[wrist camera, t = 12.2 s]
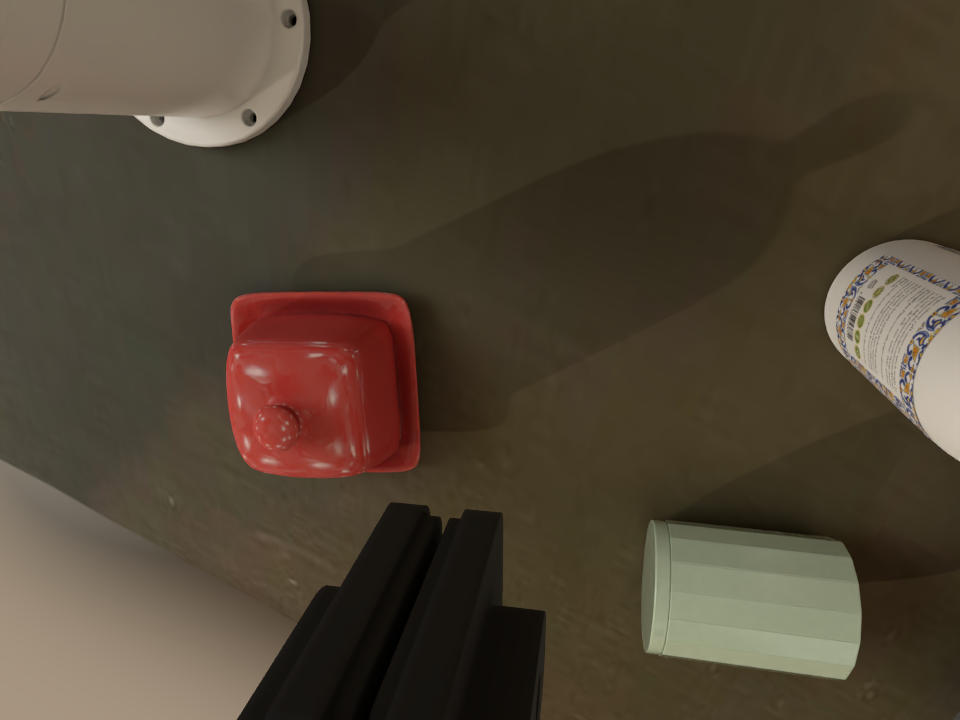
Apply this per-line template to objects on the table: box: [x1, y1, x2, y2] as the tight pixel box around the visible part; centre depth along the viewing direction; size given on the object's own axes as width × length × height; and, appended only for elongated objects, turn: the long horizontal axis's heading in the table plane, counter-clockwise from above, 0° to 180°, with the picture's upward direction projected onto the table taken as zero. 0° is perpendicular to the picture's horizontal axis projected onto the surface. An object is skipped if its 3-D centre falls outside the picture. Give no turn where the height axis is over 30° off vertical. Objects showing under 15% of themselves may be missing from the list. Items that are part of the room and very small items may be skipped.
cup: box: [641, 519, 862, 680], centre depth 38 cm, size 7×7×10 cm
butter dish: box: [226, 291, 421, 478], centre depth 38 cm, size 12×12×8 cm
